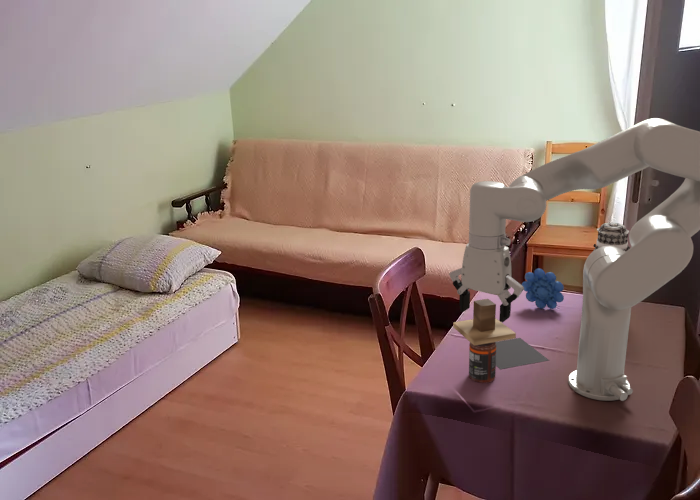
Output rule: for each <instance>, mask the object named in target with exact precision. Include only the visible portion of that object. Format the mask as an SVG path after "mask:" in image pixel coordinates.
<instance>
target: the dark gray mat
mask: <svg viewBox="0 0 700 500" xmlns="http://www.w3.org/2000/svg"><path fill="white" fill-rule="evenodd" d="M495 343H496V367H497V368H498V369H499V370H505V369H510V368H515V367H520V366H521V367H522V366H527V365H531V364H536V363H542V362H548V361H550V359H549V358H547V357H546V356H545V355H543V354H542V353H541V352H539V351H538V350H537V349H535V348H534V347H533V346H531V345H530V344H529V343H527V342H526V341H525V340H524V339H522V338H521V337H517V338H514V339H509V340H503V341H497V342H495Z"/></svg>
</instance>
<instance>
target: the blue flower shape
mask: <svg viewBox="0 0 700 500" xmlns="http://www.w3.org/2000/svg"><path fill="white" fill-rule="evenodd" d="M524 279H525V281H523V282H522V283H521V285H522V286H523V287H524V290H523V291H525V292H526V293H525V299H526V300H527V301H528V302H531V303H534V302H535V306H536V307H537V308H538V309H541V310H542V309H545V308H546V307H547V308H548V309H551V310H554V309H556V308H557V307H558V303H562V302H563V301H564V300H565V299H564V296H565V295H564V294H563V293H562V292H563V291H564V289H565V287H564V284H563V283H562V282H561V281H558V280H557V276H556V275H555V273H554V272H552V271H549V272H548V271H547V272H545V271H544V270H543V269H542V268H539V267H538V268H535V270H534V272H531V271H528V272H526V273H525V275H524Z"/></svg>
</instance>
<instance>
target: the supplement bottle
mask: <svg viewBox="0 0 700 500" xmlns="http://www.w3.org/2000/svg"><path fill="white" fill-rule="evenodd" d="M468 347H469V351H468V353H469V357H468V377H469V379H470V380H471V381H474V382H476V383H481V384H487V383H490V382H493V381H494V380H495V378H496V370H497V368H496V367H497V366H496V343H495V342H492V343H486V344H481V345H475V346H474V345H473V344H472V343H471V342H469V346H468Z"/></svg>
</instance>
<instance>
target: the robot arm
mask: <svg viewBox="0 0 700 500" xmlns="http://www.w3.org/2000/svg"><path fill="white" fill-rule="evenodd" d="M647 168H651V169H654V170H657V171H660V172H663V173H666V174H668V175H669V174H670V175H672V176H673V175H674V176H676V177H681V178H684V181H683V182H682V183H681V185H680V186H679V187H678V188H677V189H676V190H675V191H674V192H673V193H672V194H670V196H668V197H667V198H665V200H663V202H661V203H659V204H658V205H657V206H656V207H654V208H653V209H652V210H651V211H649V212H648V213H647V214H645V215H644V216H643V217H641V218H640V219H639V220H638V221H636V222H635V224H633V225H632V227H631V229H630V230H629V233H628V241H629V244H630V246H631V247H630V249H629V250H627V251H626V252H625V251H623V250H622V249H620V248H617V247H614V246H603V247H600V248H598V249H596V250H594V249H593V250H594V251H591V253H590V254H588V257H587V258H586V260H585V262H584V265H583V271H582V272H583V273H582V307H581V318H580V326H579V327H580V330H579V337H578V338H579V340H578V349H577V351H578V353H577V362H576V363H577V364H576V370H574V371H572V372H571V373H569V376H568V381H567V383H568V385H569V387H570V388H571V389H572V390H573V391H574V392H576V393H577V394H579V395H581V396H583V397H586V398H588V399H592V400H597V401H604V402H605V401H606V402H609V401H610V402H611V401H621V402H624V401H626V400H627V399H628V396H629V395H632V394H633V392H634V390H633V388H631V385H630V382H629V381H628V379H627V377H628V376H627V375H625V367H626V366H625V365H626V356H627V350H628V349H627V347H628V342H629V341H628V339H629V329H630V323H631V315H632V314H631V313H632V307H634V306H636V305H638V304H640V303H641V302H642V301H644V300H645V299H647V298H648V297H649V296H651V295H652V294H653V293H655V292H656V291H658V290H659V289H660V288H663V286H664V285H666V284H667V283H669V282H670V281H671V280H673V279H674V278H675V277H677V276H678V275H680V274H681V273H682V271H683V270H685V269H686V267H688V265H689V263H690V261H691V259H692V257H693V255H694V243H693V240H692V237H693V236H694V235H695V234H697V233H698V232H699V231H700V130H699V131H698V130H695V129H691V128H688V127H684V126H682V125H679V124H676V123H673V122H672V121H669V120H666V119H663V118H661V117H660V118H658V117H653V118H648V119H645V120H642V121H640V122H638V123H635V124H634V125H632V126H630V127H628V128H625V129H623V130H622V131H621V130H620V131H619V132H618V133H615V134H613V135H611V136H609V137H606V139H603V140H601V141H598V142H596V143H595V144H592V145H590V146H588V147H586V148H584V149H581V150H578V151H575V152H573V153H570V154H568V155H565V156H562V157H560V158H557V159H555V160H551V161H549V162H547V163H545V164H544V163H543V164H542V165H540V166H538V167H536V168H534V169H532V170H530V171H528V172H526V173H524V174H522V175H519V176H518V177H517V178H516V179H514V180H512V182H511V183H510V184H509V185H508V186H506V185H505V184H504V183H502V182H500V181H493V180H486V181H485V180H484V181H478V182H475V183H473V184H472V185H471V187H470V191H469V213H468V214H469V216H468V217H469V221H468V229H469V230H468V243H467V244H466V245H465V249H464V252H463V258H462V262H461V267H460V268H458V269H455V270H452V271H451V272H449V277H450V279H451V281H452V285H453V286H454V289H456V292H457V295H459V300H458V301H459V303H458V305H459V311H460V312H461V313H464V312H466V311H467V310H468V309H470V308H471V292H470V291H469V290H473V291H476V292H477V291H478V292H481V293H485V294H489V295H495V296H497V297H498V299H499V300H500V301H501V304H500V305H499V319H498V320H499V321H500V322H502V323H504V322H506V321H507V320H508V319H509V318H510V317H511V311H512V310H511V308H512V303H513V302H514V301H516V300H517V299H518V298H519V297H520V295H521V294H522V292H523V291H524V287H523V286H522V283H520V282H518V281H517V280H516V279H515V278H513V277H512V262H511V261H512V260H511V254H510V247H508V246H510V245H511V242H512V239H511V238H509V237H507V233H506V229H507V228H506V226H507V222H506V221H507V220H511V221H517V222H521V223H530V222H534V221H535V222H536V221H537V220H538V219H540V218H541V217H542V216H544V214H545V212H546V210H547V202H548V201H549V200H551V199H553V198H556V197H558V196H560V195H563V194H565V193H570V192H573V191H577V190H598V189H603V188H605V187H607V186H611V185H612V184H614V183H616V182H619V181H621V180H623V179H625V178H627V177H629V176H632V175H635V173H638V172H640V171H643V170H645V169H647ZM459 276H461V279H460V277H459ZM511 288H512V289H513V293H512V294H511V293H510V291H509V290H510V289H511Z"/></svg>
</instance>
